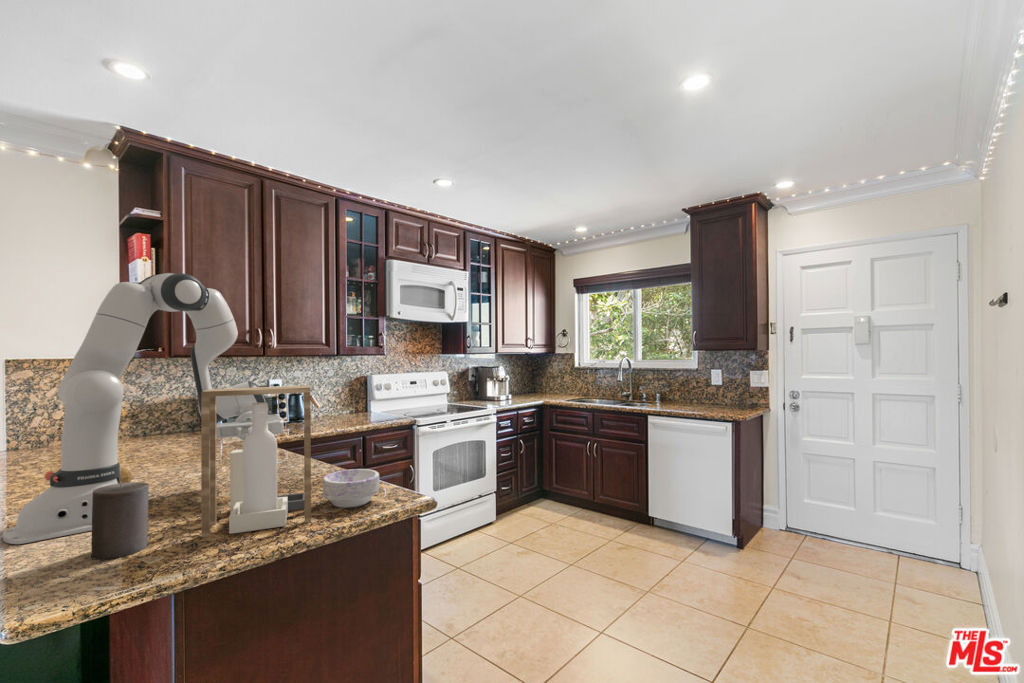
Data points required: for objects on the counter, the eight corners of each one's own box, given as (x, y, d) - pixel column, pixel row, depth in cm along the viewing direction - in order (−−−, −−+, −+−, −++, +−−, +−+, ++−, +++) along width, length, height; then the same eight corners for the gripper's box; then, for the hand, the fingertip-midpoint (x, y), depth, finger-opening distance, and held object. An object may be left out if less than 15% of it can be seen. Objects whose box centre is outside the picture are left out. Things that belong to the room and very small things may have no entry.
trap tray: (253, 507, 133) (253, 498, 134) (306, 500, 139) (306, 492, 139) (249, 516, 126) (249, 506, 126) (305, 508, 131) (305, 499, 131)
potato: (104, 498, 145) (104, 471, 145) (81, 492, 151) (82, 467, 152) (141, 489, 154) (141, 464, 154) (118, 485, 160) (118, 460, 160)
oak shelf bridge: (209, 523, 121) (209, 389, 122) (310, 510, 130) (310, 385, 131) (201, 537, 112) (201, 391, 113) (311, 521, 121) (310, 387, 122)
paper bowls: (357, 513, 127) (357, 483, 127) (310, 508, 131) (310, 479, 132) (390, 497, 141) (389, 470, 141) (346, 493, 146) (346, 467, 146)
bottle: (271, 527, 118) (271, 404, 118) (237, 529, 116) (236, 405, 117) (281, 516, 125) (281, 401, 126) (249, 518, 124) (249, 402, 125)
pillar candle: (82, 563, 98) (84, 489, 99) (101, 546, 107) (102, 478, 108) (140, 555, 102) (142, 484, 103) (153, 539, 111) (155, 473, 112)
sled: (232, 508, 132) (232, 450, 132) (288, 501, 137) (288, 445, 138) (219, 535, 112) (219, 466, 113) (285, 525, 118) (285, 460, 118)
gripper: (211, 418, 148) (202, 424, 135) (284, 413, 156) (282, 418, 143) (211, 439, 148) (202, 447, 135) (285, 433, 156) (282, 439, 143)
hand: (244, 432), depth 139 cm, fingers closed
